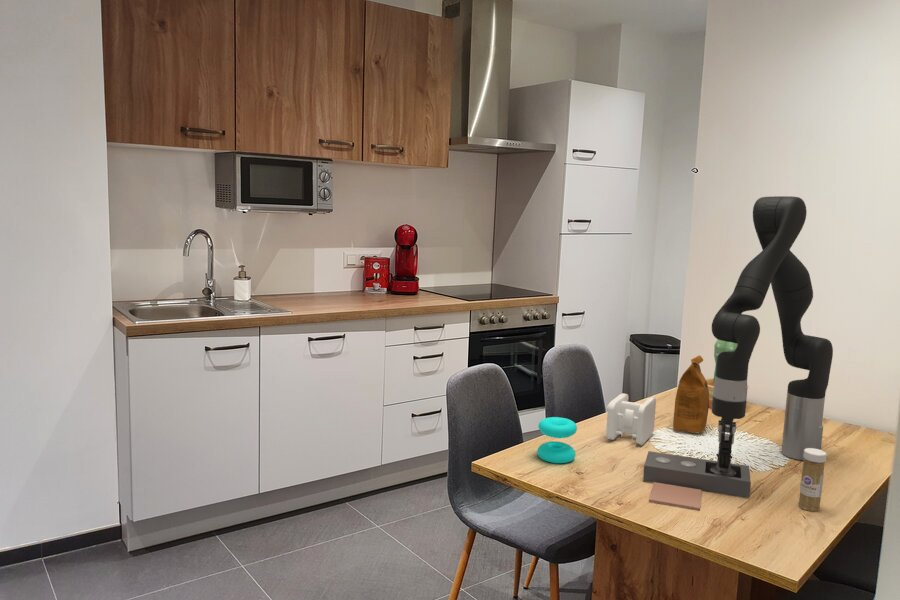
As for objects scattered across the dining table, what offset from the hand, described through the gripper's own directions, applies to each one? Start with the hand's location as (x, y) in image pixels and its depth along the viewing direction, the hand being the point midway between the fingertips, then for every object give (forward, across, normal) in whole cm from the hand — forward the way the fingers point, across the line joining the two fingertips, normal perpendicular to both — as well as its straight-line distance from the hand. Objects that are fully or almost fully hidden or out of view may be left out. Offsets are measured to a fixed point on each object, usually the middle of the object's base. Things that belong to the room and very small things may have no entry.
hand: (723, 464), depth 172 cm
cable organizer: (+6, +26, +25) cm, 36 cm away
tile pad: (+5, -12, +10) cm, 17 cm away
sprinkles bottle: (+5, -5, -19) cm, 20 cm away
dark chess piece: (+5, 0, 0) cm, 5 cm away
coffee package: (+6, +43, +9) cm, 44 cm away
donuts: (+5, +1, +41) cm, 41 cm away
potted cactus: (+6, +73, 0) cm, 73 cm away
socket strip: (+5, 0, +6) cm, 8 cm away
